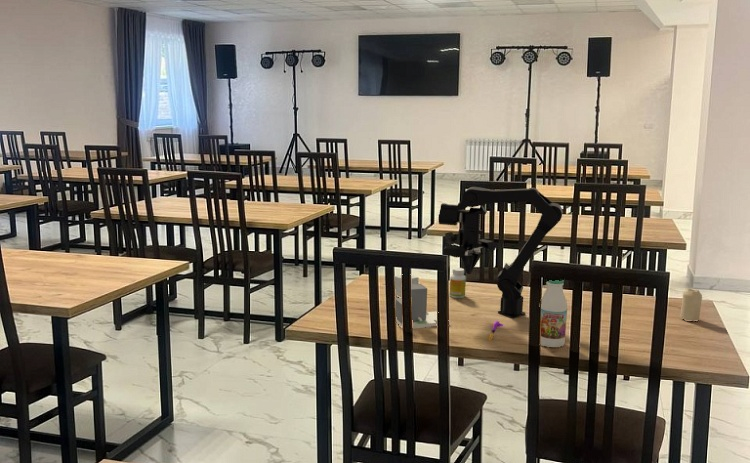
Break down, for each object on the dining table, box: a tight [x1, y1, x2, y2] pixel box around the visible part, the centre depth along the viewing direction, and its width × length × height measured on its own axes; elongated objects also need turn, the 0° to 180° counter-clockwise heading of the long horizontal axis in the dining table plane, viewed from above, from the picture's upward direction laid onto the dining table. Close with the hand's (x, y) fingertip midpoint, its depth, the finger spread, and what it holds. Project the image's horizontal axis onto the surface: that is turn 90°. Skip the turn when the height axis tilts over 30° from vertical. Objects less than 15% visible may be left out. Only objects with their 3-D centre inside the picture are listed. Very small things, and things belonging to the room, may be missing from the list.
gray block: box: [411, 283, 428, 321], centre depth 214 cm, size 5×9×10 cm, turn 18°
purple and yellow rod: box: [488, 320, 504, 342], centre depth 209 cm, size 3×1×16 cm
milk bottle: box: [540, 279, 568, 348], centre depth 198 cm, size 8×8×20 cm
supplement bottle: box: [449, 267, 467, 299], centre depth 243 cm, size 5×5×10 cm
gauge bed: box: [394, 297, 450, 330], centre depth 215 cm, size 15×10×7 cm, turn 108°
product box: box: [394, 274, 419, 297], centre depth 241 cm, size 6×6×7 cm
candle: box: [679, 288, 703, 321], centre depth 223 cm, size 6×6×10 cm
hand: (468, 273), depth 227 cm, fingers closed
